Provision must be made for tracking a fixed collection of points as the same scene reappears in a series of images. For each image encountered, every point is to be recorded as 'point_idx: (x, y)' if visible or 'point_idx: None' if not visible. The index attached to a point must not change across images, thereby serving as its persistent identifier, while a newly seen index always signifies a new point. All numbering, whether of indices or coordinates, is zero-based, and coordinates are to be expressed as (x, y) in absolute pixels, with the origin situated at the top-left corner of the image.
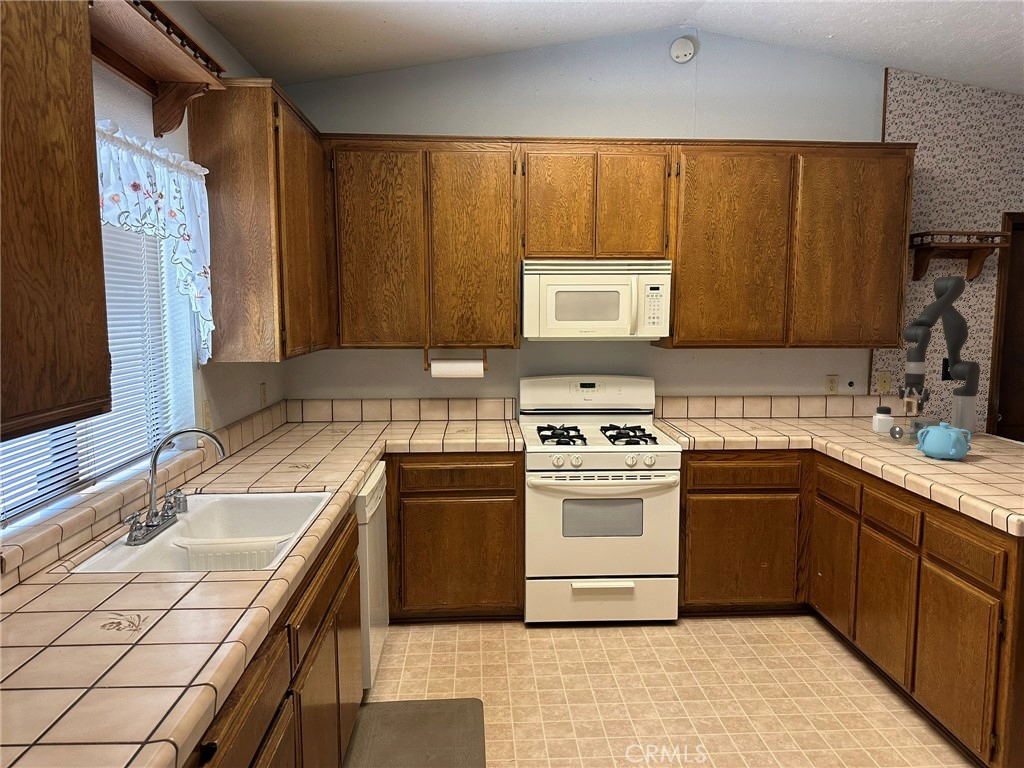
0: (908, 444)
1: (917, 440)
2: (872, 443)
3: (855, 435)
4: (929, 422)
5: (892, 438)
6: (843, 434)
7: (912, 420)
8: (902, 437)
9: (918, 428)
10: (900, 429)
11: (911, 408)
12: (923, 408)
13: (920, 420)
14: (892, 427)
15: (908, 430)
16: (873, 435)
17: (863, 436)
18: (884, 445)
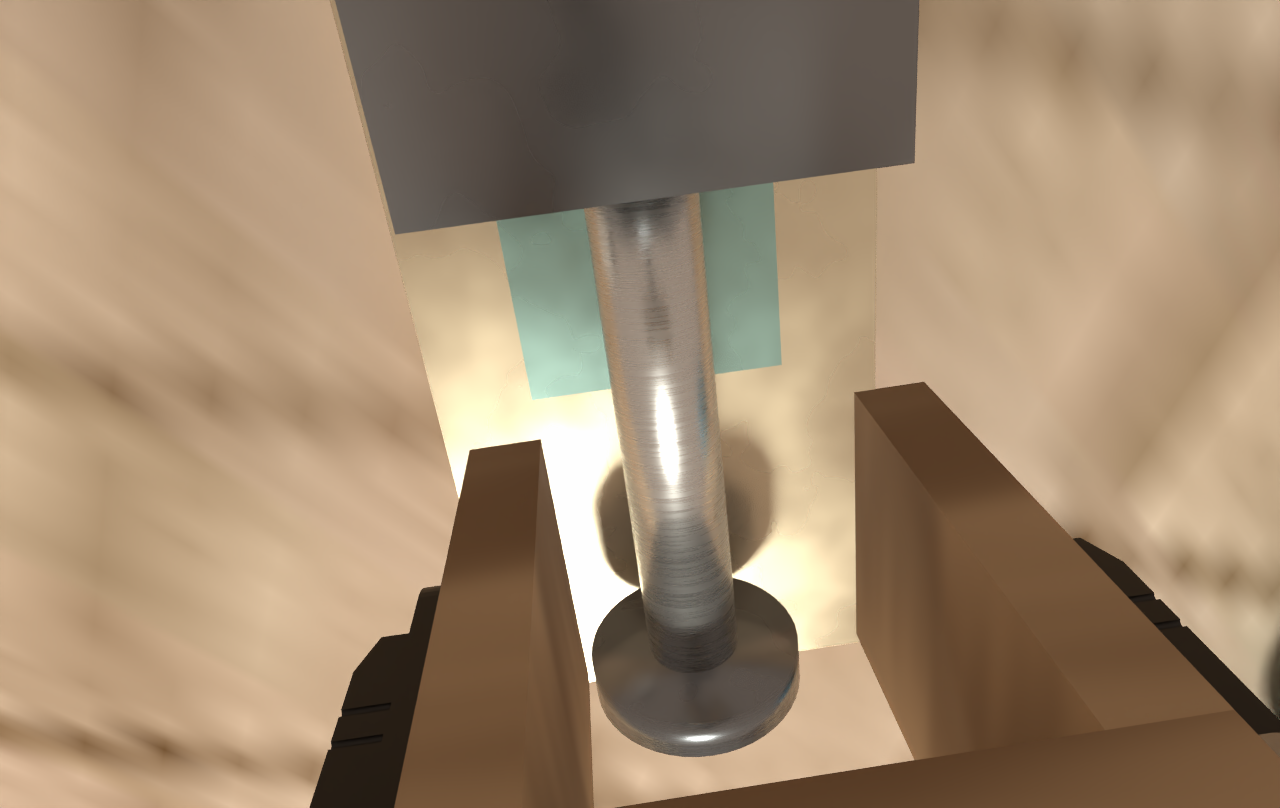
0: None
1: (846, 376)
2: (637, 798)
3: (95, 685)
4: (901, 75)
5: (596, 571)
6: (5, 762)
7: (458, 218)
8: (571, 397)
9: (680, 208)
10: (790, 705)
11: (543, 548)
12: (1137, 578)
13: (696, 190)
14: (648, 740)
15: (717, 477)
16: (111, 484)
17: (184, 644)
18: (772, 764)
